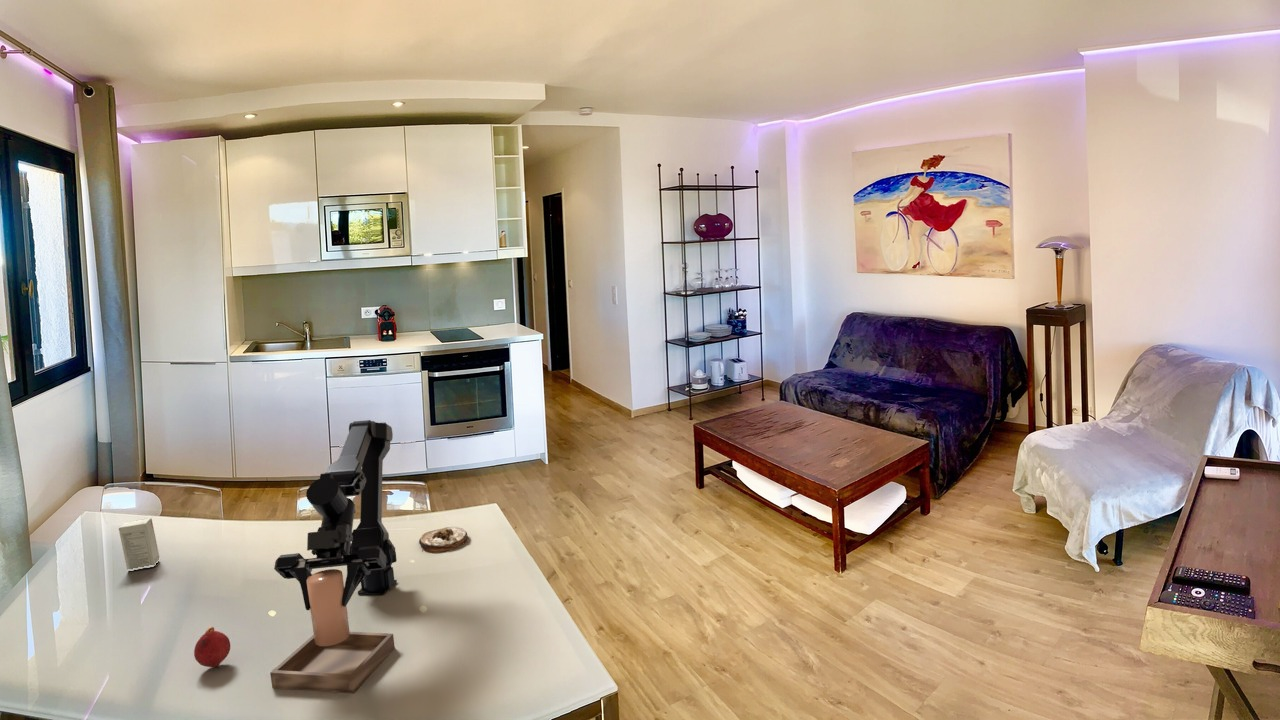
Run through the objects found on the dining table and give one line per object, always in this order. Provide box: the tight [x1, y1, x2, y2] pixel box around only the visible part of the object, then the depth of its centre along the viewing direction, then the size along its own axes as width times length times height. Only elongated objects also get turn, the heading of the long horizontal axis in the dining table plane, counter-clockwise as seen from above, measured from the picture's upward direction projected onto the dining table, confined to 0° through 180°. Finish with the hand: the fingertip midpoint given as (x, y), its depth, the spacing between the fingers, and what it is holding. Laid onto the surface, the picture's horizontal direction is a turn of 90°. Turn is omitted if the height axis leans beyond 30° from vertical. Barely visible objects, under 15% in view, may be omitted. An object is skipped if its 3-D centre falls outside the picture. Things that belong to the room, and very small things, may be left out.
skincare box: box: [118, 517, 160, 570], centre depth 177 cm, size 6×4×12 cm
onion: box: [193, 626, 231, 668], centre depth 130 cm, size 6×6×8 cm
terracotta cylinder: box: [307, 568, 351, 646], centre depth 127 cm, size 6×6×12 cm
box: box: [269, 631, 396, 694], centre depth 128 cm, size 16×14×3 cm
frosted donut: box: [418, 526, 468, 553], centre depth 184 cm, size 15×15×4 cm
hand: (325, 607), depth 125 cm, fingers closed on terracotta cylinder, 6 cm apart
